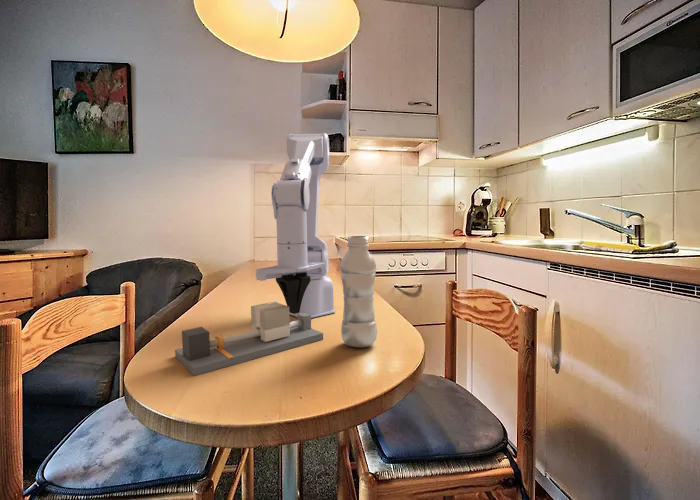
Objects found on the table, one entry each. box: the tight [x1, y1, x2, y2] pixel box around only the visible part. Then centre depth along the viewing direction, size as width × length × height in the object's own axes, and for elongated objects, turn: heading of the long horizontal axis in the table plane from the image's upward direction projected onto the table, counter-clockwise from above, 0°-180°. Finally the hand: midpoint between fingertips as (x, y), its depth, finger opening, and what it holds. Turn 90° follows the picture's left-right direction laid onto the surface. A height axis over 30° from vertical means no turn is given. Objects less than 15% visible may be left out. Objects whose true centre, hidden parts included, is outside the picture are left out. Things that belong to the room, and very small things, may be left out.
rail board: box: [174, 313, 324, 377], centre depth 66 cm, size 24×10×5 cm, turn 130°
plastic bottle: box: [339, 235, 378, 348], centre depth 66 cm, size 6×7×20 cm
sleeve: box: [250, 301, 291, 342], centre depth 68 cm, size 5×5×6 cm
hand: (293, 312), depth 71 cm, fingers closed
